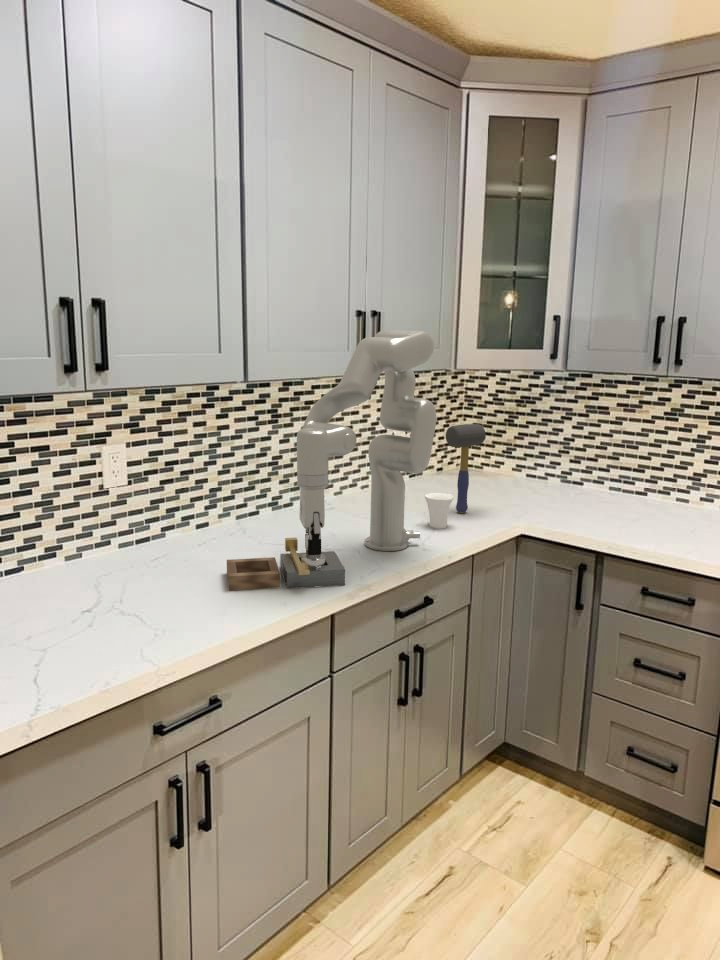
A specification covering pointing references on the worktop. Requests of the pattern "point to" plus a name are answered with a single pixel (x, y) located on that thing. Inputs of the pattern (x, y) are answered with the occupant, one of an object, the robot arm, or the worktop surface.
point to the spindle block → (313, 572)
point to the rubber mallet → (464, 455)
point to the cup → (438, 509)
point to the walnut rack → (253, 573)
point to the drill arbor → (312, 557)
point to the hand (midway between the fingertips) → (313, 551)
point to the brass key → (296, 556)
